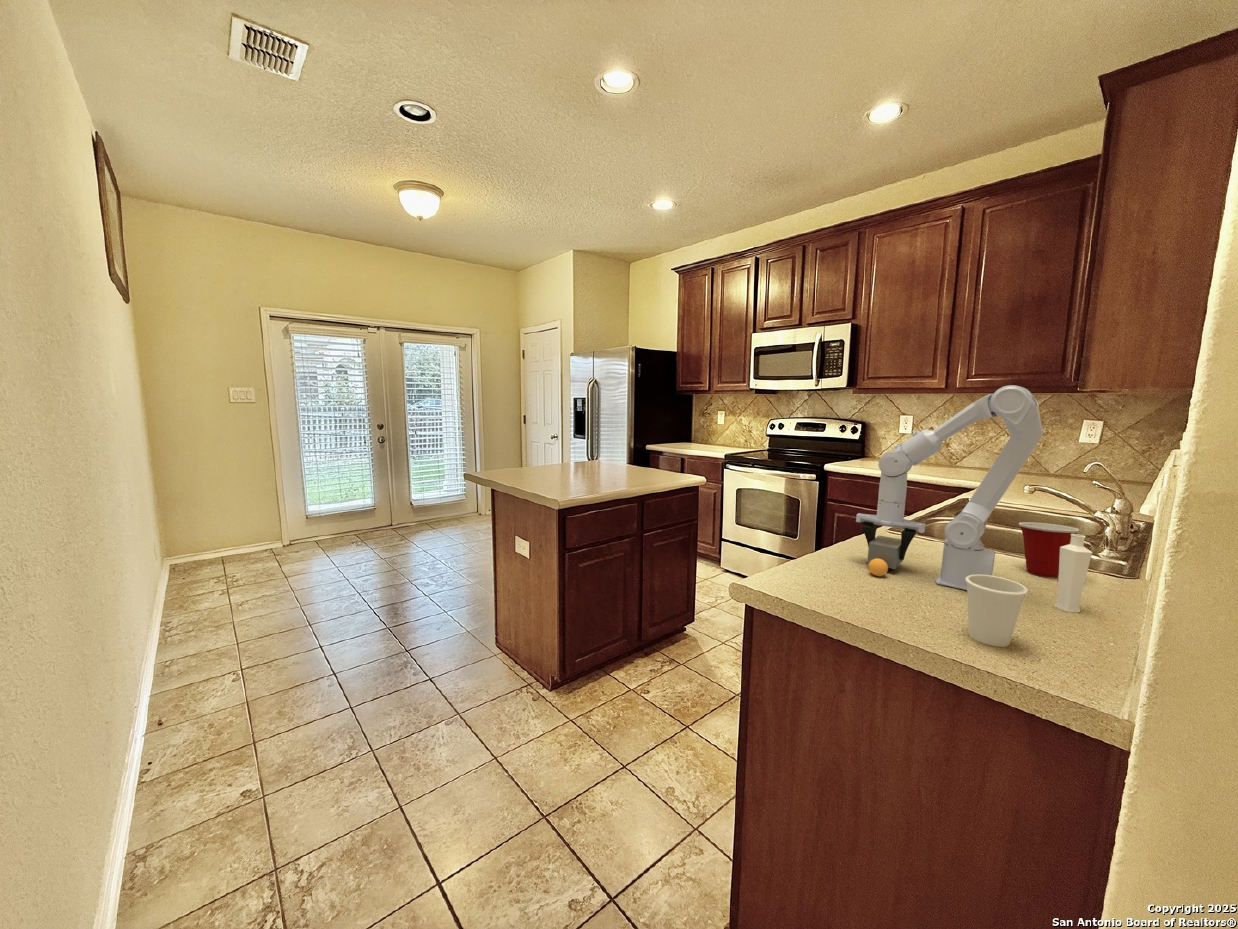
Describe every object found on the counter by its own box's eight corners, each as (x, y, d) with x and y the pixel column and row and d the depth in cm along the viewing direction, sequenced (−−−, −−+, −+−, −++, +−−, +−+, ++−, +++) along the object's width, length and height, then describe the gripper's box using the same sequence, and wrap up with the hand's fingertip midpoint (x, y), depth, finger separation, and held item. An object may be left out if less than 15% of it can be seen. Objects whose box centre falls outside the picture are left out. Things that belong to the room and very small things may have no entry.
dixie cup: (1033, 648, 81) (1041, 590, 79) (991, 653, 79) (999, 594, 77) (985, 625, 89) (992, 572, 87) (947, 629, 87) (953, 575, 86)
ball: (888, 575, 113) (890, 558, 113) (884, 580, 110) (886, 563, 110) (870, 571, 116) (871, 554, 115) (865, 575, 113) (867, 559, 112)
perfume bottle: (1077, 615, 93) (1089, 540, 91) (1048, 606, 97) (1059, 534, 95) (1087, 611, 95) (1099, 537, 93) (1059, 602, 99) (1070, 531, 97)
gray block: (903, 559, 120) (905, 540, 119) (895, 569, 113) (897, 548, 112) (877, 554, 124) (878, 535, 123) (867, 563, 117) (869, 543, 116)
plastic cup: (1048, 566, 121) (1055, 519, 119) (1085, 583, 110) (1093, 531, 109) (1001, 564, 122) (1007, 518, 120) (1033, 580, 111) (1040, 529, 110)
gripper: (854, 498, 118) (849, 552, 120) (923, 508, 109) (917, 566, 111) (862, 494, 123) (858, 546, 125) (929, 503, 114) (923, 559, 116)
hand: (886, 555), depth 118 cm, fingers closed on gray block, 6 cm apart
